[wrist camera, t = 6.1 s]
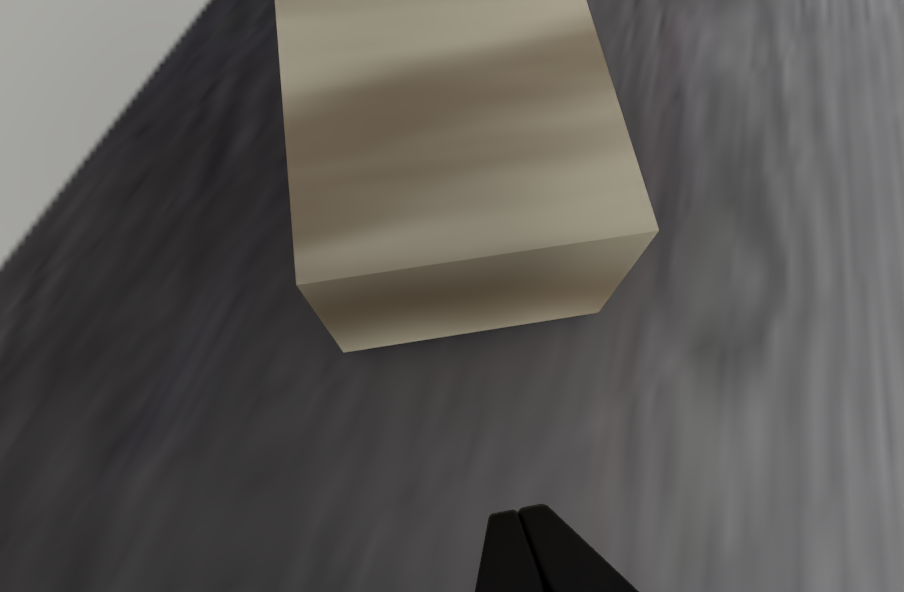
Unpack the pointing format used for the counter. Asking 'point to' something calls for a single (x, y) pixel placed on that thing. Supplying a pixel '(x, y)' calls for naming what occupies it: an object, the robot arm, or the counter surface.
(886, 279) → the counter surface
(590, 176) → the birch block
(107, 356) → the counter surface
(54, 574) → the counter surface
